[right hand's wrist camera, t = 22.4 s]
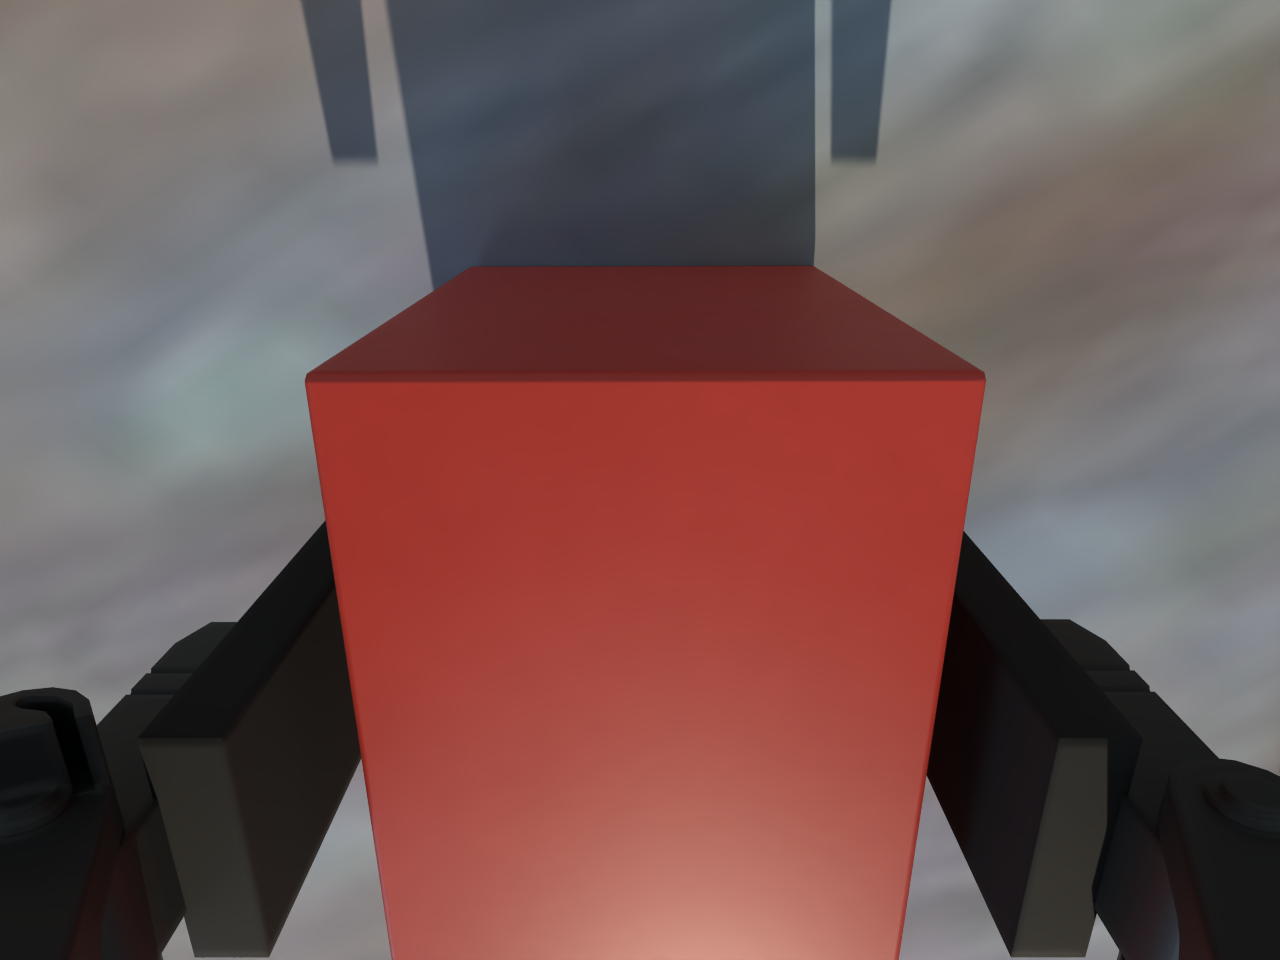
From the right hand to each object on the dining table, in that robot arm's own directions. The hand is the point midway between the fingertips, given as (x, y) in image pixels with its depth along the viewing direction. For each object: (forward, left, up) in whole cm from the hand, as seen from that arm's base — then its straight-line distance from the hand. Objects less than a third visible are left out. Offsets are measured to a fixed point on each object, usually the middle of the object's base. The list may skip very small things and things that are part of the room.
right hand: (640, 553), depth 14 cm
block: (0, 0, -2) cm, 2 cm away
